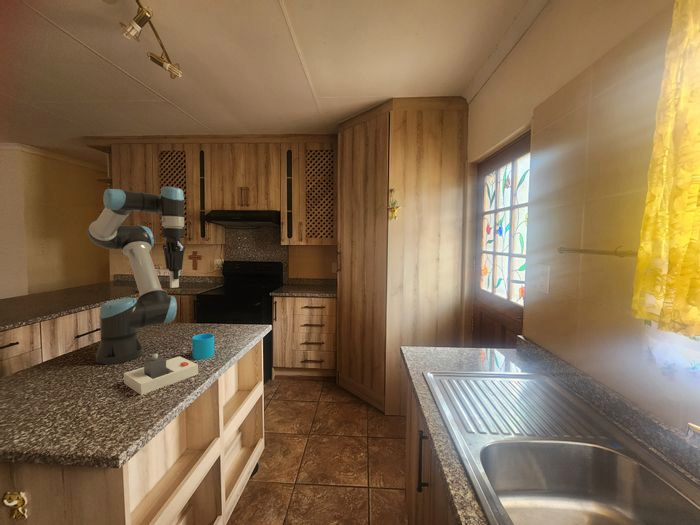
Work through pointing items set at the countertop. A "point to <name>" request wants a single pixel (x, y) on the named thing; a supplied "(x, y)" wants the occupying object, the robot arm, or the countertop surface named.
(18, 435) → the countertop surface
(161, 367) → the plug
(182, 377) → the socket plate
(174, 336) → the countertop surface
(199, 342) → the mug
